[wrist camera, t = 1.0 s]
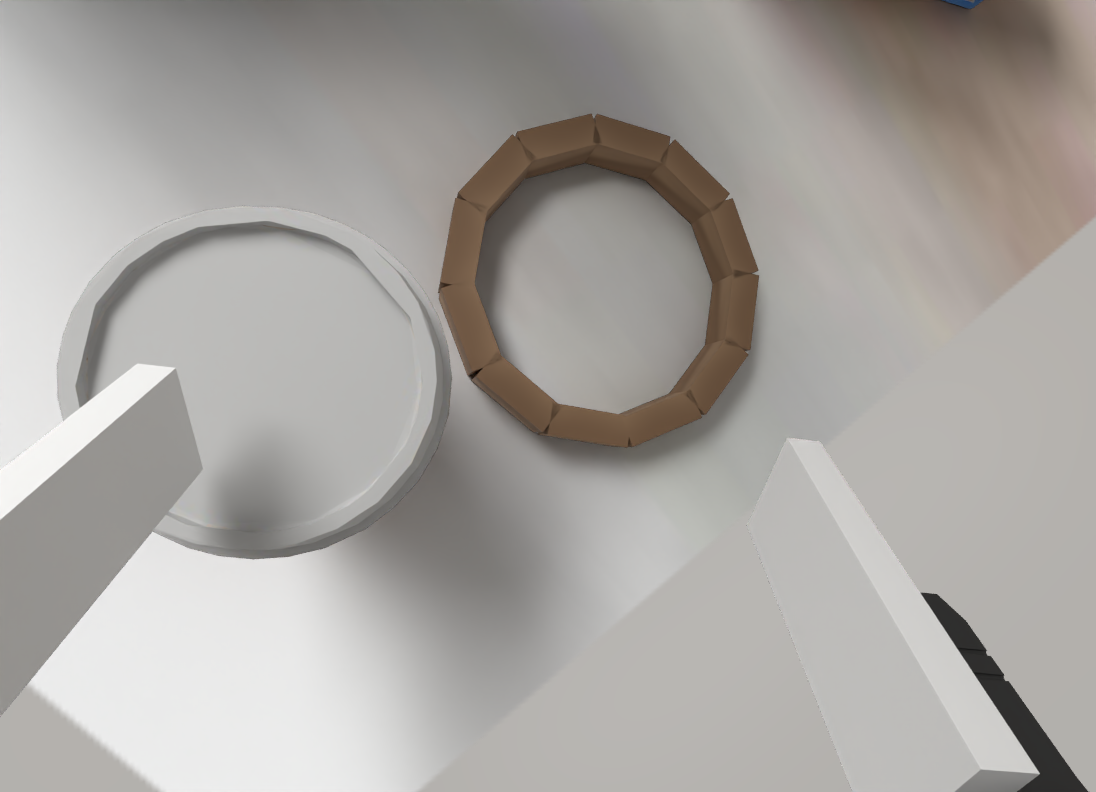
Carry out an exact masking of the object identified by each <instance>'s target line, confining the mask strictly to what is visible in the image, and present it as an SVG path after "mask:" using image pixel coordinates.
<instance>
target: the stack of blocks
mask: <svg viewBox="0 0 1096 792" xmlns="http://www.w3.org/2000/svg"><path fill="white" fill-rule="evenodd" d="M943 1H946V2H949V3H952V4H956V5H959V6H962V7H965V8H968V9H972V8H974V7H975V6H976V5H978V4H979V3H980V2H982V1H983V0H943Z"/></svg>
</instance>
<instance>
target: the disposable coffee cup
mask: <svg viewBox="0 0 1096 792" xmlns="http://www.w3.org/2000/svg"><path fill="white" fill-rule="evenodd" d="M137 363H138V364H146V365H155V366H164V367H173V368H176V370H177V374H178V378H179V381H180V385H181V389H182V393H183V396H184V400H185V404H186V407H187V411H188V415H189V418H190V422H191V426H192V430H193V433H194V437H195V441H196V444H197V448H198V452H199V455H200V459H201V463H202V466H203V470H202V471H201V473H200V474H199V475H198V476H197V477H196V479H195V480H194V481H193V482H192V484H191V485H190V486H189V487H188V488H187V490H186V491H185V492H184V493H183V494H182V496H181V497H180V498H179V499H178V501H177V502H176V503H175V504H174V505H173V507H172V508H171V509H170V510H169V512H168V513H167V514H166V515H165V516H164V518H163V519H162V520H161V521H160V523H159V524H158V525H157V526H156V527H155V529H154V530H153V531H152V532H155V533H157V534H159V535H161V536H163V537H166V538H168V539H170V540H172V541H174V542H176V543H179V544H181V545H183V546H185V547H187V548H190V549H194V550H198V551H202V552H206V553H210V554H214V555H218V556H226V557H236V558H246V559H264V558H277V557H289V556H293V555H298V554H302V553H306V552H310V551H315V550H319V549H323V548H326V547H328V546H330V545H332V544H335V543H337V542H339V541H341V540H343V539H345V538H347V537H349V536H352V535H354V534H356V533H358V532H360V531H362V530H364V529H366V528H368V527H369V526H370V525H371V524H373V523H374V522H375V521H377V520H378V519H379V518H381V517H382V516H383V515H385V514H386V513H387V512H388V511H390V510H391V509H392V508H394V507H395V506H396V505H397V504H398V503H399V502H400V500H401V499H402V498H403V497H404V496H405V495H406V494H407V493H408V492H409V491H410V490H411V489H412V487H413V486H414V485H415V484H416V483H417V482H418V481H419V479H420V477H421V476H422V474H423V472H424V470H425V469H426V467H427V465H428V464H429V462H430V460H431V459H432V457H433V455H434V453H435V452H436V450H437V448H438V445H439V442H440V439H441V436H442V433H443V430H444V427H445V424H446V421H447V418H448V415H449V404H450V393H451V382H452V375H451V367H450V359H449V350H448V345H447V342H446V339H445V336H444V333H443V330H442V327H441V323H440V320H439V317H438V315H437V313H436V311H435V310H434V308H433V306H432V304H431V302H430V301H429V299H428V297H427V295H426V293H425V291H424V290H423V289H422V287H421V286H420V285H419V284H418V282H417V281H416V280H415V278H414V277H413V276H412V275H411V273H410V272H409V271H408V269H406V268H405V267H404V266H403V265H402V264H401V263H400V262H399V261H398V260H397V259H396V258H395V257H393V256H392V255H391V254H390V253H389V252H388V251H387V250H386V249H385V248H383V247H382V246H380V245H379V244H378V243H376V242H375V241H373V240H372V239H370V238H369V237H368V236H366V235H364V234H362V233H360V232H358V231H356V230H354V229H353V228H351V227H349V226H347V225H345V224H342V223H340V222H337V221H334V220H331V219H329V218H326V217H323V216H320V215H318V214H315V213H310V212H304V211H299V210H293V209H287V208H281V207H251V206H237V207H228V208H220V209H211V210H204V211H201V212H198V213H194V214H191V215H188V216H185V217H182V218H178V219H175V220H172V221H169V222H166V223H164V224H162V225H160V226H158V227H157V228H155V229H153V230H151V231H149V232H147V233H146V234H144V235H142V236H140V237H138V238H137V239H135V240H134V241H132V242H131V243H130V244H128V245H127V246H126V247H124V248H123V249H121V250H120V251H119V252H117V253H116V254H115V255H114V256H113V257H112V258H111V259H110V260H109V261H108V262H107V264H106V265H105V266H104V267H103V268H102V269H101V270H100V271H99V272H98V273H97V274H96V275H95V276H94V277H93V278H92V280H91V281H90V282H89V284H88V285H87V287H86V289H85V290H84V292H83V294H82V295H81V297H80V299H79V300H78V302H77V304H76V305H75V307H74V309H73V310H72V312H71V315H70V318H69V320H68V323H67V326H66V328H65V331H64V334H63V336H62V342H61V347H60V353H59V358H58V363H57V391H58V401H59V405H60V410H61V414H62V418H63V421H64V420H65V419H67V418H68V417H69V416H70V415H72V414H73V413H74V412H76V411H77V410H78V409H79V408H81V407H82V406H83V405H85V404H86V403H87V402H88V401H90V400H91V399H92V398H94V397H95V396H96V395H97V394H99V393H100V392H101V391H103V390H104V389H105V388H107V387H108V386H109V385H110V384H112V383H113V382H114V381H116V380H117V379H118V378H119V377H121V376H122V375H123V374H125V373H126V372H127V371H128V370H130V369H131V368H132V367H134V366H135V365H136V364H137Z"/></svg>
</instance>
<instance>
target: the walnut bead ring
mask: <svg viewBox="0 0 1096 792" xmlns="http://www.w3.org/2000/svg"><path fill="white" fill-rule="evenodd" d="M669 142H670V136H667V135H663V134H660V133H657V132H654V131H651V130H647V129H644V128H641V127H638V126H634V125H631V124H628V123H625V122H621V121H618V120H615V119H612V118H609V117H605V116H602V115H599V114H597V115H596V116H595V118H594V119H593V116H592V114H588V115H584V116H580V117H576V118H572V119H568V120H563V121H559V122H555V123H551V124H547V125H543V126H539V127H535V128H530V129H526V130H522V131H518V132H517V133H516V136H514V135H511V136H510V138H509V139H508V140H507V141H506V142H505V143H504V144H503V145H502V146H501V147H500V148H499V149H498V150H497V152H496V153H495V154H494V155H493V156H492V157H491V158H490V159H489V160H488V161H487V162H486V163H485V164H484V166H483V167H482V168H481V169H480V170H479V171H478V172H477V173H476V174H475V175H474V176H473V177H472V178H471V179H470V181H469V182H468V183H467V184H466V185H465V186H464V187H463V188H462V189H461V190H460V191H459V192H458V196H457V198H455V203H454V208H453V213H452V218H451V224H450V229H449V235H448V240H447V246H446V252H445V257H444V263H443V269H442V274H441V280H440V285H439V291H438V293H440V295H439V301H440V303H441V306H442V309H443V311H444V314H445V317H446V319H447V322H448V325H449V327H450V330H451V333H452V335H453V338H454V341H455V343H456V346H457V349H458V351H459V354H460V357H461V359H462V362H463V365H464V367H465V370H466V373H467V375H468V376H469V375H471V374H474V373H477V372H478V373H477V374H476V375H475V376H474V378H473V379H472V380H471V381H472V382H473V383H475V384H476V385H477V386H478V387H480V388H481V389H482V390H483V391H484V392H486V393H487V394H488V395H489V396H490V397H492V398H493V399H494V400H495V401H496V402H498V403H499V404H500V405H501V406H502V407H504V408H505V409H506V410H507V411H508V412H510V413H511V414H512V415H513V416H514V417H516V418H517V419H518V420H519V421H520V422H522V423H523V424H524V425H525V426H526V427H528V428H529V429H530V430H531V431H532V432H538V434H539V435H545V436H551V437H557V438H564V439H570V440H576V441H582V442H588V443H595V444H601V445H607V446H614V447H634V446H636V445H638V444H641V443H643V442H645V441H648V440H650V439H653V438H655V437H657V436H660V435H662V434H664V433H667V432H669V431H671V430H674V429H676V428H679V427H681V426H683V425H686V424H688V423H690V422H693V421H695V420H697V419H700V418H702V416H701V415H704V414H706V413H707V412H708V411H709V409H710V408H711V406H712V405H713V404H714V402H715V401H716V399H717V398H718V397H719V395H720V394H721V392H722V391H723V390H724V388H725V387H726V385H727V384H728V383H729V381H730V380H731V378H732V377H733V376H734V374H735V373H736V371H737V370H738V369H739V367H740V366H741V364H742V363H743V362H744V360H745V359H746V357H747V356H748V354H747V353H746V352H745V351H747V350H750V348H751V340H752V331H753V323H754V314H755V306H756V297H757V288H758V280H759V275H755V274H752V273H754V272H756V271H758V268H757V265H756V262H755V259H754V257H753V254H752V251H751V248H750V245H749V243H748V240H747V237H746V234H745V231H744V229H743V226H742V223H741V220H740V217H739V215H738V212H737V209H736V206H735V203H734V201H733V198H732V199H729V200H725V199H726V198H727V197H728V195H729V194H730V193H729V192H728V191H727V190H726V189H725V188H724V187H722V186H721V185H720V184H719V183H718V182H717V181H716V180H715V179H714V178H713V177H712V176H711V175H710V174H709V173H708V172H707V171H706V170H705V169H704V168H703V167H702V166H701V165H700V164H699V163H698V162H697V161H696V160H695V159H694V158H693V157H692V156H691V155H690V154H689V153H688V152H687V151H686V150H685V149H684V148H683V147H682V146H681V145H680V144H679V143H678V142H677V141H676V140H674V141H673V142H672V143H671V144H670V145H669ZM583 163H587V164H591V165H594V166H598V167H601V168H605V169H608V170H612V171H615V172H618V173H622V174H625V175H629V176H632V177H636V178H639V179H643V180H646V181H647V182H648V183H649V184H650V185H651V186H652V187H653V188H654V189H655V190H656V191H657V192H658V193H659V194H660V195H661V196H662V197H663V198H664V199H665V200H667V201H668V202H669V203H670V204H671V205H672V206H673V207H674V208H675V209H676V210H677V211H678V212H679V213H680V214H681V215H682V216H683V217H684V218H685V219H686V220H687V221H688V222H689V223H690V224H691V225H692V228H693V230H694V233H695V236H696V239H697V242H698V244H699V247H700V250H701V253H702V256H703V258H704V261H705V264H706V267H707V269H708V272H709V275H710V278H711V281H712V283H713V285H712V293H711V301H710V309H709V317H708V325H707V333H706V341H705V346H704V347H703V349H702V350H701V351H700V353H699V354H698V355H697V357H696V358H695V359H694V361H693V362H692V363H691V365H690V366H689V368H688V369H687V370H686V372H685V373H684V374H683V376H682V377H681V378H680V380H679V381H678V382H677V384H676V385H675V386H674V388H673V389H672V391H671V392H670V393H669V394H668V395H665V396H663V397H660V398H658V399H655V400H653V401H650V402H648V403H645V404H643V405H640V406H638V407H635V408H633V409H630V410H628V411H625V412H623V413H620V414H613V413H608V412H602V411H596V410H591V409H585V408H579V407H574V406H568V405H562V404H558V403H557V402H555V401H554V400H553V399H552V398H551V397H550V396H548V395H547V394H546V393H545V392H544V391H542V390H541V389H540V388H539V387H538V386H537V385H535V384H534V383H533V382H532V381H531V380H530V379H528V378H527V377H526V376H525V375H524V374H522V373H521V372H520V371H519V370H518V369H517V368H515V367H514V366H513V365H512V364H511V363H510V362H508V361H507V360H506V359H505V358H504V357H502V356H501V354H500V351H499V348H498V346H497V343H496V340H495V338H494V335H493V332H492V330H491V327H490V324H489V321H488V319H487V316H486V313H485V311H484V308H483V305H482V303H481V300H480V297H479V295H478V292H477V289H476V287H475V278H476V272H477V266H478V260H479V254H480V249H481V243H482V237H483V231H484V225H485V222H486V221H487V220H488V219H489V218H490V217H491V216H492V214H493V213H494V212H495V211H496V210H497V209H498V208H499V207H500V206H501V204H502V203H503V202H504V201H505V200H506V199H507V198H508V197H509V196H510V194H511V193H512V192H513V191H514V190H515V189H516V188H517V187H518V186H519V184H520V183H521V182H522V181H523V180H524V179H526V178H530V177H534V176H538V175H541V174H545V173H549V172H553V171H556V170H560V169H564V168H568V167H571V166H575V165H579V164H583Z"/></svg>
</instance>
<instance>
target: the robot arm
mask: <svg viewBox="0 0 1096 792" xmlns="http://www.w3.org/2000/svg"><path fill="white" fill-rule="evenodd" d="M202 470H203V466H202V463H201V459H200V455H199V452H198V448H197V444H196V441H195V437H194V433H193V430H192V426H191V422H190V418H189V415H188V411H187V407H186V404H185V400H184V396H183V393H182V389H181V385H180V381H179V378H178V374H177V370H176V368H173V367H164V366H155V365H146V364H138V363H137V364H136V365H135V366H134V367H132V368H131V369H130V370H128V371H127V372H126V373H125V374H123V375H122V376H121V377H119V378H118V379H117V380H116V381H114V382H113V383H112V384H110V385H109V386H108V387H107V388H105V389H104V390H103V391H101V392H100V393H99V394H97V395H96V396H95V397H94V398H92V399H91V400H90V401H88V402H87V403H86V404H85V405H83V406H82V407H81V408H79V409H78V410H77V411H76V412H74V413H73V414H72V415H70V416H69V417H68V418H67V419H65V420H64V421H63V422H61V423H60V424H59V425H58V426H56V427H55V428H54V429H52V430H51V431H50V432H49V433H47V434H46V435H45V436H43V437H42V438H41V439H39V440H38V441H37V442H36V443H34V444H33V445H32V446H30V447H29V448H28V449H27V450H25V451H24V452H23V453H21V454H20V455H19V456H18V457H16V458H15V459H14V460H12V461H11V462H10V463H9V464H7V465H6V466H5V467H3V468H2V469H1V470H0V717H1V716H2V714H3V713H4V712H5V711H6V710H7V708H8V707H9V706H10V705H11V703H12V702H13V701H14V700H15V699H16V697H17V696H18V695H19V694H20V692H21V691H22V690H23V689H24V688H25V686H26V685H27V684H28V683H29V681H30V680H31V679H32V678H33V677H34V675H35V674H36V673H37V672H38V670H39V669H40V668H41V667H42V666H43V664H44V663H45V662H46V661H47V659H48V658H49V657H50V656H51V655H52V653H53V652H54V651H55V650H56V648H57V647H58V646H59V645H60V644H61V642H62V641H63V640H64V639H65V637H66V636H67V635H68V634H69V633H70V631H71V630H72V629H73V628H74V626H75V625H76V624H77V623H78V622H79V620H80V619H81V618H82V617H83V615H84V614H85V613H86V612H87V611H88V609H89V608H90V607H91V606H92V604H93V603H94V602H95V601H96V600H97V598H98V597H99V596H100V595H101V593H102V592H103V591H104V590H105V589H106V587H107V586H108V585H109V584H110V582H111V581H112V580H113V579H114V578H115V576H116V575H117V574H118V573H119V571H120V570H121V569H122V568H123V567H124V565H125V564H126V563H127V562H128V560H129V559H130V558H131V557H132V556H133V554H134V553H135V552H136V551H137V549H138V548H139V547H140V546H141V545H142V543H143V542H144V541H145V540H146V538H147V537H148V536H149V535H150V534H151V532H152V531H153V530H154V529H155V527H156V526H157V525H158V524H159V523H160V521H161V520H162V519H163V518H164V516H165V515H166V514H167V513H168V512H169V510H170V509H171V508H172V507H173V505H174V504H175V503H176V502H177V501H178V499H179V498H180V497H181V496H182V494H183V493H184V492H185V491H186V490H187V488H188V487H189V486H190V485H191V484H192V482H193V481H194V480H195V479H196V477H197V476H198V475H199V474H200V473H201V471H202ZM747 527H748V530H749V532H750V535H751V537H752V540H753V542H754V545H755V547H756V550H757V552H758V555H759V558H760V560H761V563H762V565H763V568H764V570H765V573H766V575H767V578H768V580H769V583H770V585H771V588H772V590H773V593H774V596H775V598H776V601H777V603H778V606H779V608H780V611H781V613H782V616H783V618H784V621H785V623H786V626H787V628H788V631H789V633H790V635H791V638H792V641H793V644H794V646H795V649H796V651H797V654H798V656H799V659H800V661H801V664H802V666H803V669H804V671H805V674H806V676H807V679H808V681H809V684H810V686H811V689H812V692H813V694H814V696H815V699H816V702H817V704H818V707H819V709H820V712H821V714H822V717H823V719H824V722H825V724H826V727H827V729H828V732H829V734H830V737H831V739H832V742H833V745H834V747H835V750H836V752H837V754H838V757H839V760H840V762H841V765H842V767H843V770H844V772H845V775H846V777H847V780H848V782H849V785H850V788H851V790H852V792H1088V791H1087V790H1086V788H1085V787H1084V786H1083V785H1082V783H1081V782H1080V781H1079V780H1078V779H1077V777H1076V776H1075V774H1074V773H1073V772H1072V770H1071V769H1070V767H1069V766H1068V765H1067V763H1066V762H1065V760H1064V759H1063V758H1062V756H1061V755H1060V753H1059V752H1058V750H1057V749H1056V747H1055V746H1054V745H1053V743H1052V742H1051V740H1050V739H1049V738H1048V736H1047V735H1046V733H1045V732H1044V731H1043V729H1042V728H1041V727H1040V725H1039V723H1038V722H1037V721H1036V719H1035V718H1034V716H1033V715H1032V714H1031V712H1030V711H1029V709H1028V708H1027V707H1026V705H1025V704H1024V702H1023V701H1022V699H1021V698H1020V697H1019V695H1018V694H1017V692H1016V691H1015V690H1014V688H1013V687H1012V685H1011V684H1010V683H1009V681H1005V680H1004V674H1003V673H1002V671H1001V670H1000V668H999V667H998V666H997V664H996V663H995V661H994V660H993V658H992V657H991V656H987V654H986V649H985V648H984V646H983V644H982V643H981V642H980V640H979V639H978V637H977V636H976V635H975V633H974V632H973V630H972V629H971V627H970V626H969V625H968V623H967V622H966V620H964V619H963V618H962V617H961V616H960V615H959V614H958V613H957V612H956V611H955V610H954V609H952V608H951V607H950V606H949V605H948V604H947V603H946V602H945V601H944V600H943V599H941V598H940V597H939V596H938V595H937V594H929V593H920V592H919V590H918V589H917V587H916V586H915V584H914V583H913V581H912V580H911V578H910V577H909V575H908V574H907V572H906V571H905V569H904V568H903V566H902V564H901V563H900V561H899V560H898V558H897V557H896V555H895V554H894V552H893V551H892V549H891V548H890V547H889V545H888V543H887V542H886V540H885V539H884V537H883V536H882V534H881V533H880V531H879V530H878V528H877V527H876V525H875V524H874V522H873V521H872V519H871V518H870V516H869V515H868V513H867V512H866V510H865V509H864V507H863V505H862V504H861V503H860V501H859V499H858V498H857V496H856V495H855V493H854V492H853V491H852V489H851V487H850V486H849V484H848V483H847V481H846V480H845V478H844V477H843V475H842V474H841V472H840V471H839V469H838V468H837V466H836V465H835V463H834V462H833V460H832V459H831V457H830V456H829V454H828V453H827V451H826V450H825V448H824V446H823V445H822V443H821V442H820V441H813V440H805V439H796V438H786V441H785V443H784V445H783V447H782V449H781V451H780V454H779V456H778V458H777V460H776V462H775V465H774V467H773V469H772V471H771V473H770V475H769V478H768V480H767V482H766V484H765V486H764V489H763V491H762V493H761V495H760V497H759V499H758V502H757V504H756V506H755V508H754V510H753V513H752V515H751V517H750V519H749V521H748V524H747Z"/></svg>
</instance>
